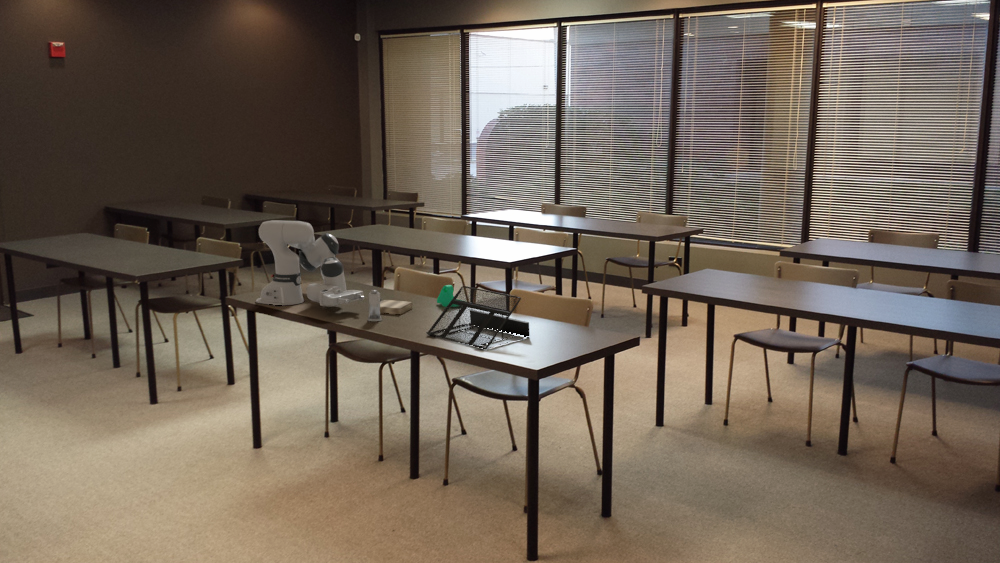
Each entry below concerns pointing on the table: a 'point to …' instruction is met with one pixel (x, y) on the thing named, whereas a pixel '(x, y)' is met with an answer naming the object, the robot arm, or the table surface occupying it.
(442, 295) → the green toy figure
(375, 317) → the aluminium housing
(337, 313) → the table surface
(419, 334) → the table surface
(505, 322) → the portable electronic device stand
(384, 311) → the wooden stand
